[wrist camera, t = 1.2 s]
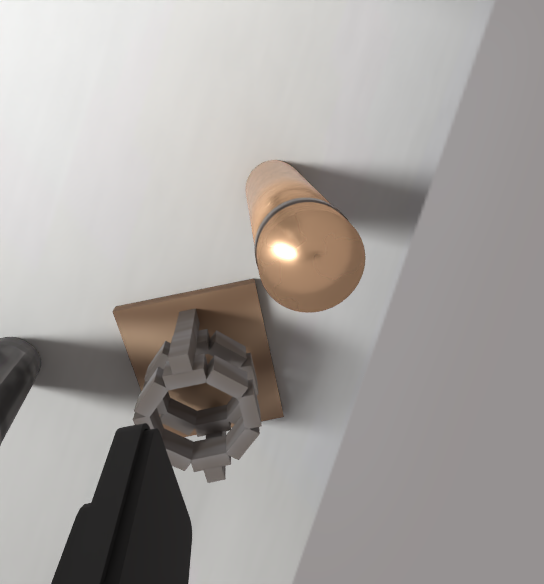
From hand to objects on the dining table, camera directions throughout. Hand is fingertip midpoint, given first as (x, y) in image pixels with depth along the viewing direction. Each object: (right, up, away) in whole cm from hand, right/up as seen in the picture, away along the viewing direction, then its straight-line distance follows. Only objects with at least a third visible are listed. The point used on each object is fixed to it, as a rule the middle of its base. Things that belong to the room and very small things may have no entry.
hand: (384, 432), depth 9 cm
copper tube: (-2, +11, +26) cm, 28 cm away
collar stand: (-8, -3, +31) cm, 33 cm away
